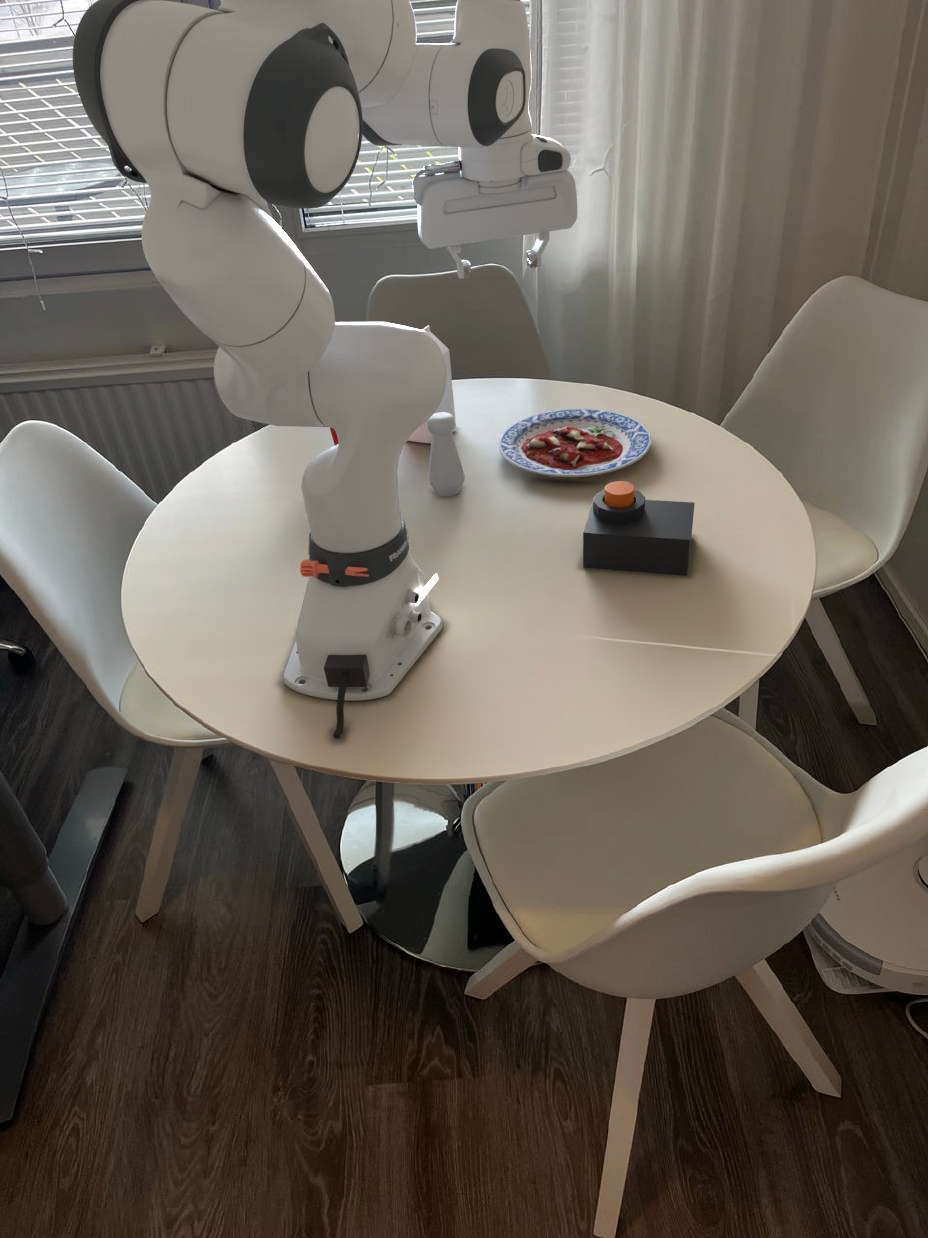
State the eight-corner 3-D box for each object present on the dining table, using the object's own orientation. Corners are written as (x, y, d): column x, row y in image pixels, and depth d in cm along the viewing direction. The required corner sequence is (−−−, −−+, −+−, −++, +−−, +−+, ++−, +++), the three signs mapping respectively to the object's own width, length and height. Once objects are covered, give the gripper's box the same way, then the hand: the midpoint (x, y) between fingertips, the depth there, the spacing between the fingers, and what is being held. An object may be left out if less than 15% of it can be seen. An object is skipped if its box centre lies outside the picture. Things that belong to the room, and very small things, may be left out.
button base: (691, 537, 125) (695, 490, 120) (687, 576, 117) (691, 528, 112) (593, 530, 128) (593, 485, 124) (583, 568, 121) (583, 521, 116)
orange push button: (635, 495, 121) (636, 481, 120) (632, 509, 118) (632, 495, 117) (606, 493, 122) (606, 480, 121) (602, 507, 119) (602, 493, 118)
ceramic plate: (553, 503, 136) (553, 486, 134) (472, 446, 154) (470, 430, 152) (683, 456, 145) (684, 440, 143) (591, 408, 163) (591, 392, 161)
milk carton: (404, 441, 158) (391, 337, 147) (422, 425, 163) (411, 323, 152) (439, 446, 155) (428, 340, 144) (456, 429, 160) (447, 326, 149)
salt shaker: (467, 481, 144) (461, 407, 136) (464, 498, 139) (457, 422, 131) (432, 482, 144) (424, 408, 137) (428, 499, 140) (419, 423, 132)
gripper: (416, 174, 101) (426, 292, 111) (583, 151, 104) (580, 268, 113) (406, 160, 106) (417, 274, 115) (566, 139, 109) (564, 252, 118)
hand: (499, 271), depth 114 cm, fingers open, 8 cm apart
